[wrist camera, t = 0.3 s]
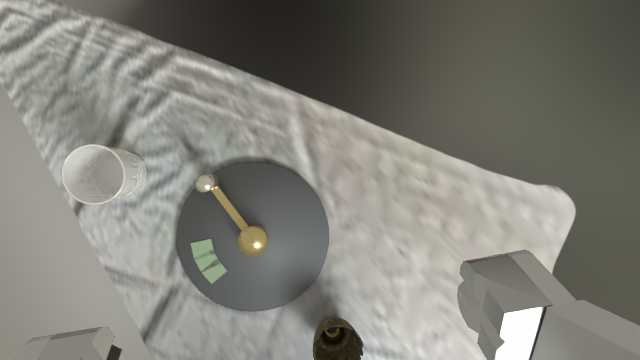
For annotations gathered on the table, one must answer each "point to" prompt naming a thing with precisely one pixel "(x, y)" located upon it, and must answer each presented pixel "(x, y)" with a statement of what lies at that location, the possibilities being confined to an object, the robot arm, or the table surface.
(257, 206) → the dial
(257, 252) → the needle
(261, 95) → the table surface
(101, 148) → the white cup
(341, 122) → the table surface
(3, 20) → the table surface
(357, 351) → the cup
